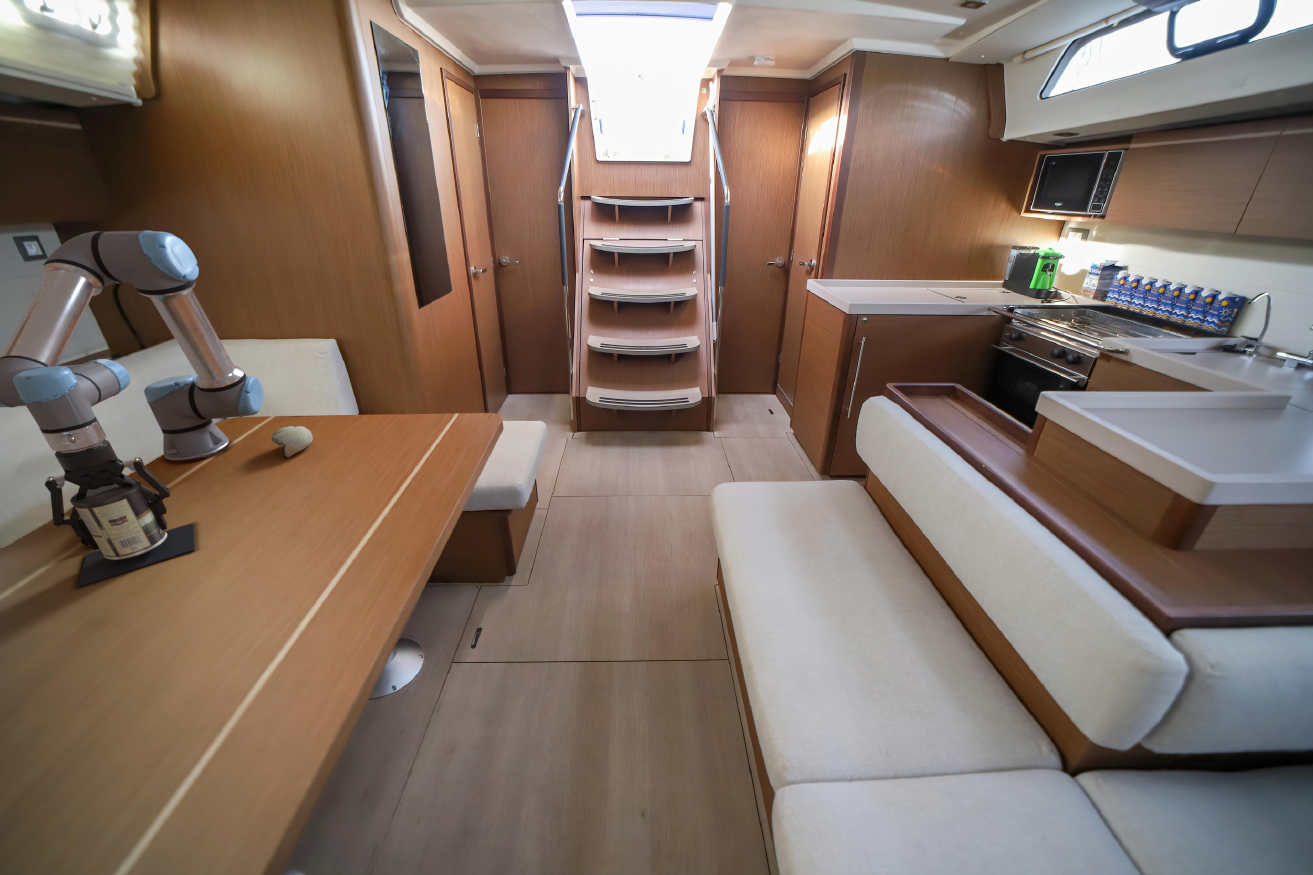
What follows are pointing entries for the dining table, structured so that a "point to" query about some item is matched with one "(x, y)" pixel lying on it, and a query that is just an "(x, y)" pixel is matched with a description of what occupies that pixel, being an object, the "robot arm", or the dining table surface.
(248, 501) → the dining table surface
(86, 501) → the coffee can
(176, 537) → the place mat
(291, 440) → the seashell
